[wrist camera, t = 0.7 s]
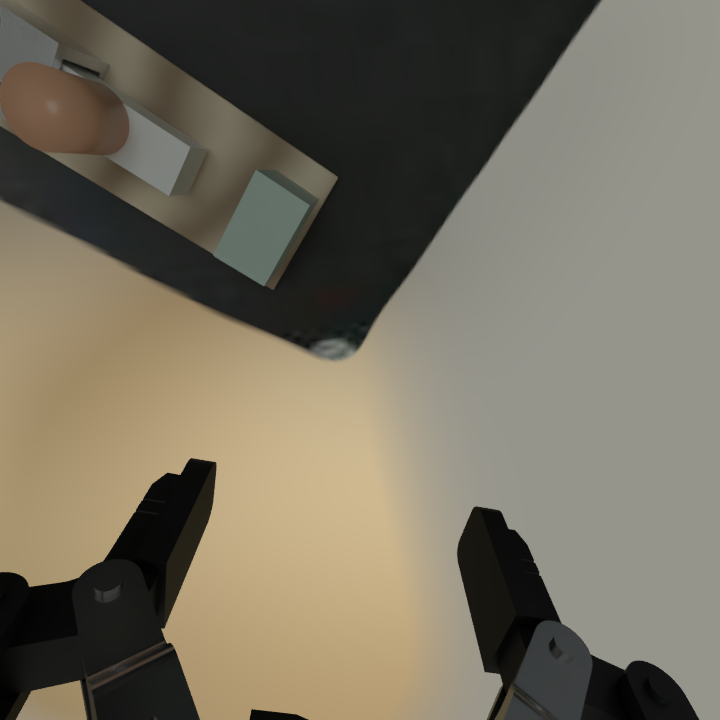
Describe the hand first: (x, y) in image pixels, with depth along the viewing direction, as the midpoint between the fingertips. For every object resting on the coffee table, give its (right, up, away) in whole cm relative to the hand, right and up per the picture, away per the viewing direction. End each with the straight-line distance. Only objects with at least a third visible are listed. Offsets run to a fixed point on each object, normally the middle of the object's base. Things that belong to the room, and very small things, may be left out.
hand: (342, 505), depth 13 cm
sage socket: (-6, +15, +20) cm, 26 cm away
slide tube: (-18, +22, +16) cm, 33 cm away
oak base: (-15, +21, +18) cm, 32 cm away
